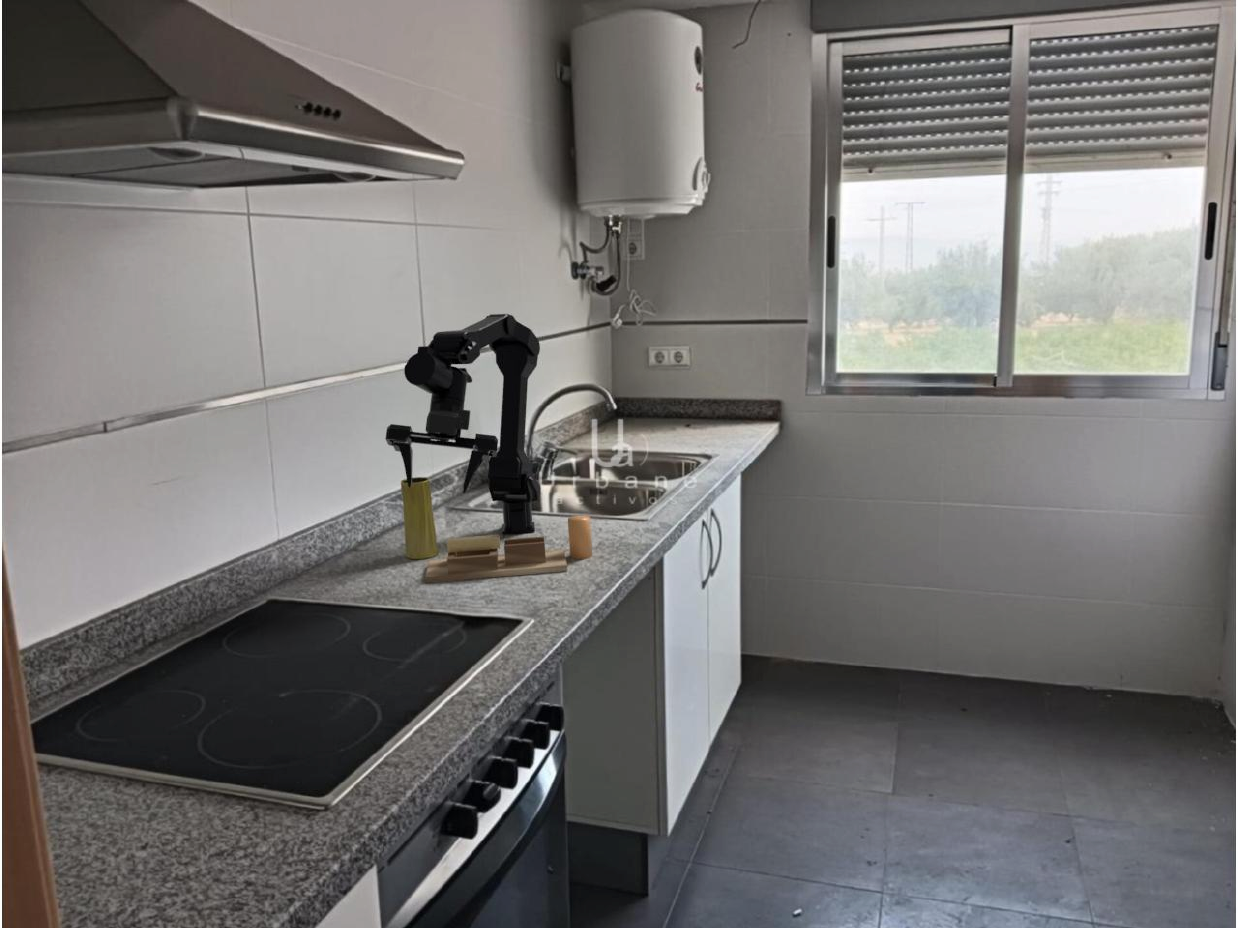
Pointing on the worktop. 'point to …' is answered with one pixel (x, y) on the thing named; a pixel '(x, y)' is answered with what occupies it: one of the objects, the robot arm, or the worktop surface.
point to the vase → (419, 519)
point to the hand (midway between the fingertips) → (436, 490)
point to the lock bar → (473, 543)
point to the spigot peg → (580, 537)
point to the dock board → (498, 561)
